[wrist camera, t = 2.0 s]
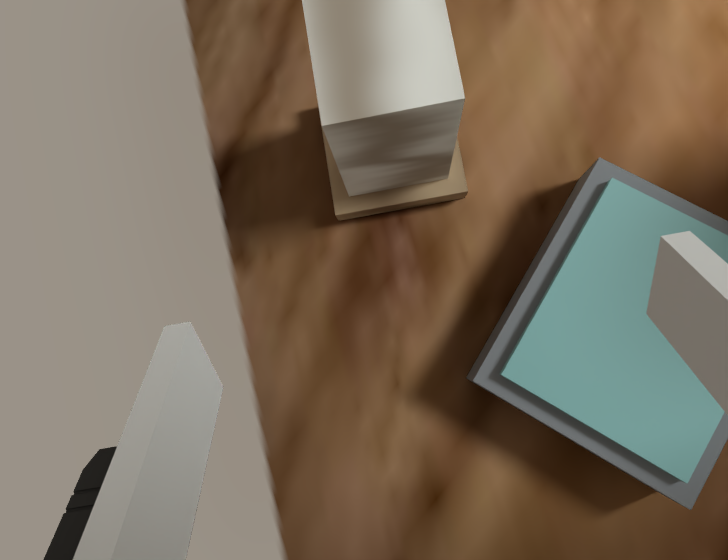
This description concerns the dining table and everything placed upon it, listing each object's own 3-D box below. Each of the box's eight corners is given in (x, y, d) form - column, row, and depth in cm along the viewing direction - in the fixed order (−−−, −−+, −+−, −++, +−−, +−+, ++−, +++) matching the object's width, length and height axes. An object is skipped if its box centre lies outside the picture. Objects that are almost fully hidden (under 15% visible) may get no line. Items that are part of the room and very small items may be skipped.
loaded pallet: (441, 81, 33) (457, -56, 22) (465, 199, 32) (494, 116, 21) (320, 105, 34) (276, -18, 22) (339, 222, 32) (301, 152, 21)
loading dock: (579, 178, 31) (603, 153, 27) (770, 275, 29) (826, 263, 25) (465, 378, 30) (474, 381, 26) (657, 491, 28) (697, 514, 24)
